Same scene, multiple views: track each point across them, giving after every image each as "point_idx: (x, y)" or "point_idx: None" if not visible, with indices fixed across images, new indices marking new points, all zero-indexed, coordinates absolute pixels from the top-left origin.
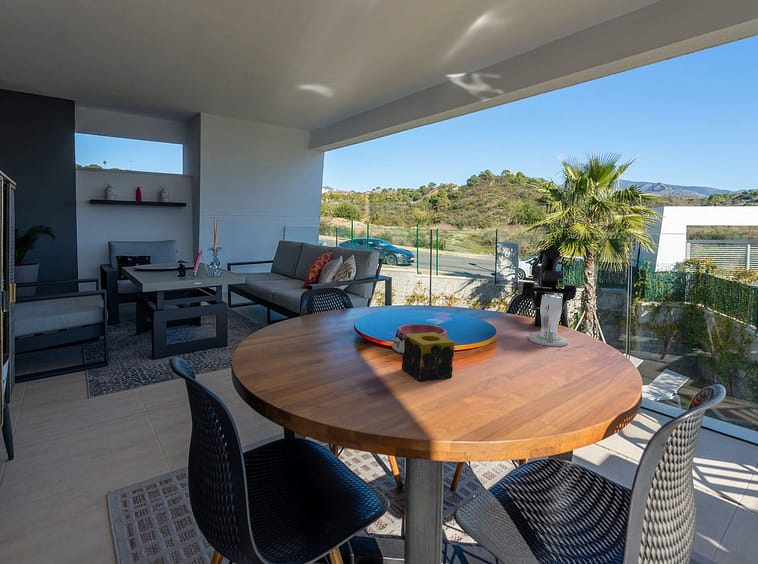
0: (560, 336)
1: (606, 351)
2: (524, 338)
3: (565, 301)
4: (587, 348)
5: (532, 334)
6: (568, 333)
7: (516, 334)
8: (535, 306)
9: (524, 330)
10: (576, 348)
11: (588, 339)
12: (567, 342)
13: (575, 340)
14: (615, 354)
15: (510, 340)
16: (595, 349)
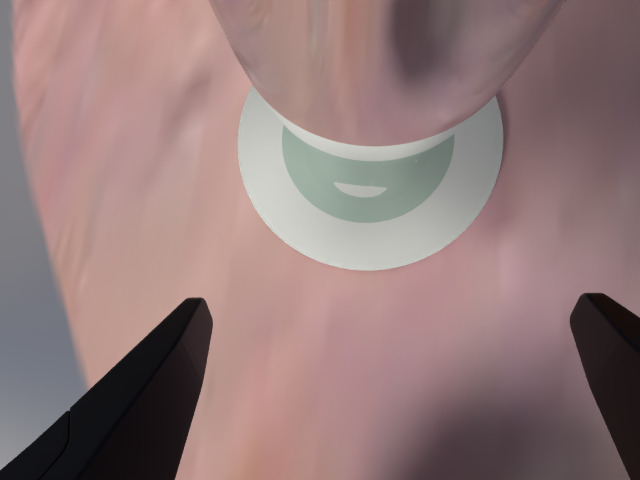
0: (277, 222)
1: (56, 71)
2: (523, 147)
3: (73, 406)
4: (147, 86)
5: (476, 186)
6: (199, 453)
7: (585, 241)
8: (594, 296)
9: (526, 407)
10: (210, 54)
11: (95, 324)
12: (249, 96)
13: (184, 255)
14: (25, 32)
15: (618, 46)
16: (107, 86)
